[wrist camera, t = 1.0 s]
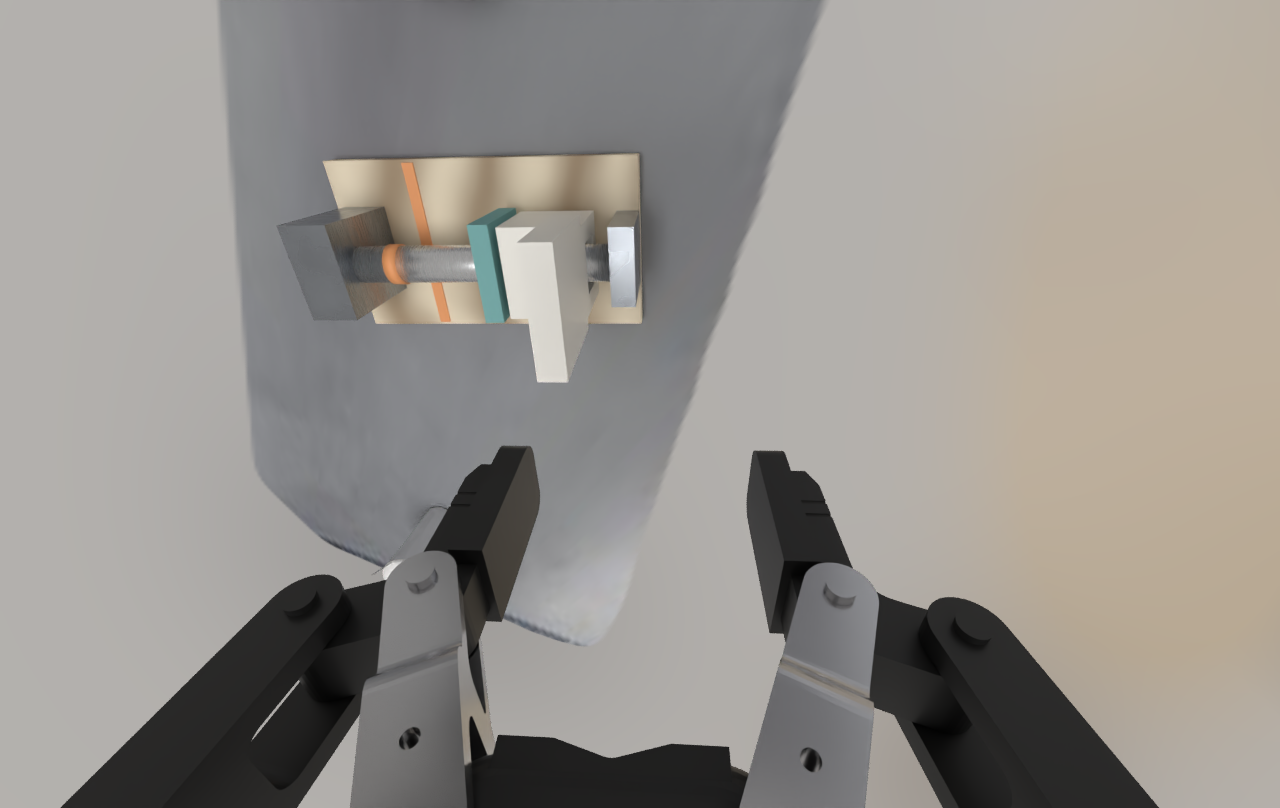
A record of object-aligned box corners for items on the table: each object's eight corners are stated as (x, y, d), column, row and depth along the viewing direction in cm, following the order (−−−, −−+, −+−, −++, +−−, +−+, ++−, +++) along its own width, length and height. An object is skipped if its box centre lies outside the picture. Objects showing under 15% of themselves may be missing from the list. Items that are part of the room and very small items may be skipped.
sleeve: (592, 199, 32) (552, 242, 21) (599, 300, 35) (568, 382, 24) (519, 200, 32) (441, 243, 21) (533, 300, 36) (473, 381, 25)
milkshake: (437, 491, 51) (390, 567, 42) (470, 524, 53) (431, 602, 44) (406, 505, 52) (355, 581, 43) (439, 536, 54) (396, 615, 46)
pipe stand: (639, 153, 33) (630, 163, 26) (642, 316, 39) (636, 362, 32) (335, 159, 34) (246, 170, 27) (385, 317, 41) (323, 360, 33)
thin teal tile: (515, 207, 33) (486, 224, 27) (528, 293, 36) (504, 322, 30) (498, 208, 33) (466, 225, 27) (512, 293, 36) (486, 322, 31)
